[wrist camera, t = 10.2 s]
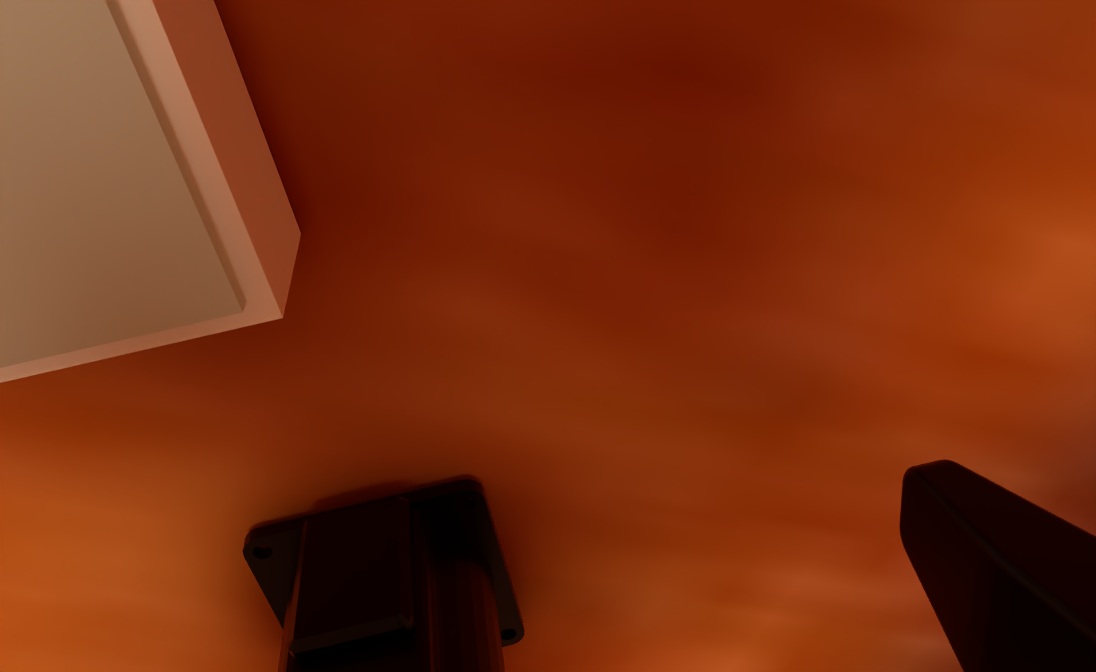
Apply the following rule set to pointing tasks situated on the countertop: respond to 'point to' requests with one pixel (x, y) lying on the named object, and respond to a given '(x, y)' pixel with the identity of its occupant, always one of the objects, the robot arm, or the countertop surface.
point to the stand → (130, 184)
